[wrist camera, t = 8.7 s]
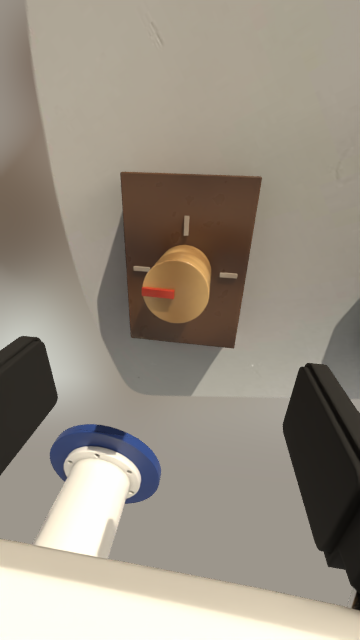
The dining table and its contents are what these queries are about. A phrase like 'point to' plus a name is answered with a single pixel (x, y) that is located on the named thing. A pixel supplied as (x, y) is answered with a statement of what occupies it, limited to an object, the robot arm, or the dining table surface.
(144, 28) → the dining table surface
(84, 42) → the dining table surface
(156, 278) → the dial
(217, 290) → the panel
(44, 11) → the dining table surface
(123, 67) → the dining table surface
